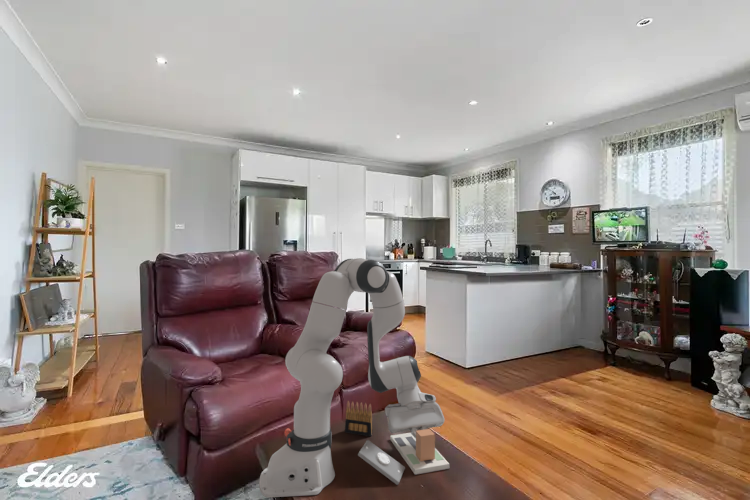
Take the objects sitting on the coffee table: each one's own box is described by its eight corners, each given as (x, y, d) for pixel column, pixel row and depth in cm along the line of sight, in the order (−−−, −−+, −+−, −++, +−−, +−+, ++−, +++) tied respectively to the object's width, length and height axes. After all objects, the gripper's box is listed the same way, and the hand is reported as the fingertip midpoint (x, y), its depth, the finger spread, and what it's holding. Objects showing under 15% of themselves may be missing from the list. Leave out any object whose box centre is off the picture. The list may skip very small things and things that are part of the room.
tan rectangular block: (420, 461, 122) (420, 436, 122) (415, 454, 126) (415, 430, 126) (434, 458, 124) (434, 434, 124) (429, 452, 127) (429, 428, 128)
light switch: (400, 480, 112) (360, 449, 116) (391, 495, 113) (351, 465, 117) (406, 464, 120) (368, 436, 124) (397, 479, 121) (360, 451, 125)
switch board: (414, 474, 118) (414, 469, 118) (390, 439, 140) (390, 435, 140) (449, 468, 121) (449, 463, 121) (420, 435, 143) (420, 430, 143)
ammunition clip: (372, 434, 144) (373, 402, 144) (371, 436, 142) (371, 404, 142) (346, 430, 147) (346, 399, 147) (344, 432, 145) (345, 401, 145)
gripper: (385, 401, 132) (395, 443, 122) (439, 395, 138) (451, 434, 128) (381, 409, 136) (390, 450, 126) (433, 402, 142) (445, 441, 132)
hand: (421, 442), depth 127 cm, fingers closed, pressing on tan rectangular block
